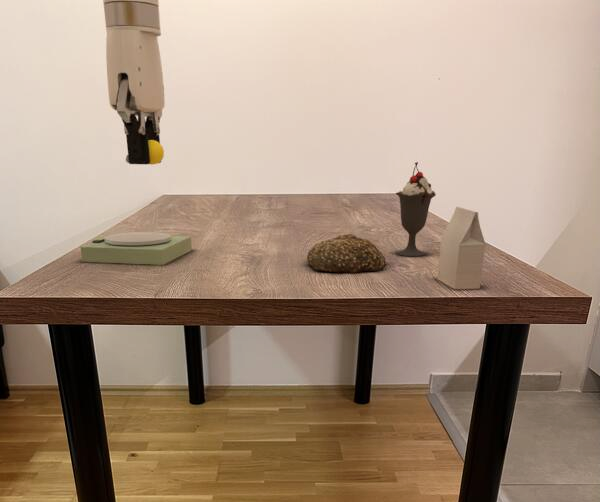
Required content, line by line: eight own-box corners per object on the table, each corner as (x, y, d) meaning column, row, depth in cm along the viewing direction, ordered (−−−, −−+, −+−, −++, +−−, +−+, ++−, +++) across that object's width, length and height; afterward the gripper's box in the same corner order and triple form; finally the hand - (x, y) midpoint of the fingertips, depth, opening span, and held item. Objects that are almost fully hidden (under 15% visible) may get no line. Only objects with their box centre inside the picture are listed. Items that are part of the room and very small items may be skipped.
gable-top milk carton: (454, 289, 87) (462, 212, 83) (437, 279, 93) (444, 207, 89) (479, 288, 88) (489, 212, 83) (460, 278, 94) (469, 206, 89)
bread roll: (305, 273, 97) (306, 239, 94) (307, 258, 108) (307, 227, 106) (390, 274, 96) (392, 240, 94) (383, 259, 107) (385, 228, 105)
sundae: (401, 258, 108) (408, 162, 102) (386, 251, 114) (391, 160, 108) (436, 256, 110) (445, 162, 103) (419, 250, 116) (427, 160, 109)
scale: (82, 261, 104) (79, 241, 103) (118, 247, 117) (116, 229, 115) (163, 265, 102) (161, 244, 101) (191, 250, 114) (190, 231, 113)
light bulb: (166, 164, 96) (156, 140, 94) (129, 175, 97) (119, 152, 95) (168, 156, 99) (159, 133, 96) (133, 167, 100) (122, 144, 97)
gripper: (133, 31, 98) (144, 161, 105) (78, 13, 83) (97, 165, 91) (179, 30, 96) (187, 161, 104) (132, 11, 82) (146, 166, 90)
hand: (145, 162), depth 97 cm, fingers closed on light bulb, 3 cm apart
